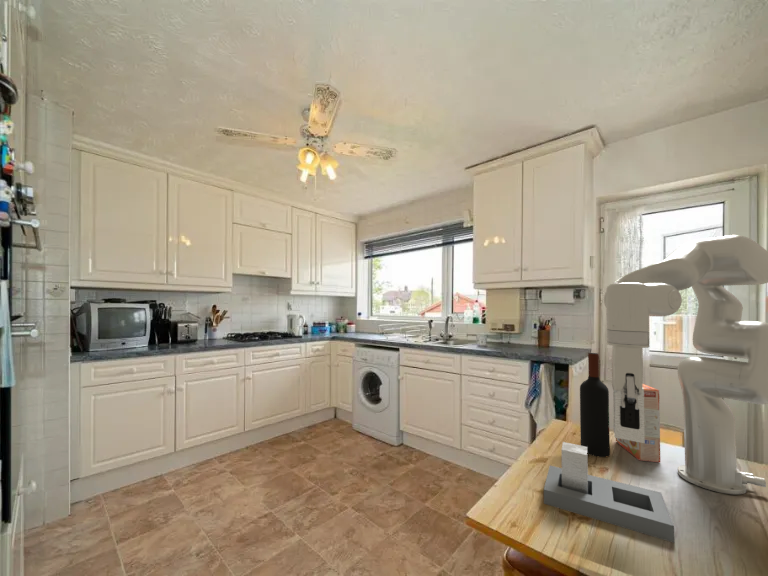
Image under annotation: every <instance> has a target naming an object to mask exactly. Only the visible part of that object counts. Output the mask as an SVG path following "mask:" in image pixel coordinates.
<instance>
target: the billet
mask: <svg viewBox="0 0 768 576" xmlns="http://www.w3.org/2000/svg"><path fill="white" fill-rule="evenodd" d="M588 455H589V454H587V447H585V446H581V444H576V443H575V444H574V443H570V442H565V441H562V446H561V468H562V487H563V488H566V489H570V490H574V491H577V492H581V493H585V494H588V475H589V471H588V469H589V464H588V463H589V462H588V460H589V459H588V458H589V457H588Z"/></svg>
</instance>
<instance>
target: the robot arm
mask: <svg viewBox="0 0 768 576" xmlns="http://www.w3.org/2000/svg"><path fill="white" fill-rule="evenodd" d="M764 284H768V250H767V249H766V248H764V247H763V246H762V245H760V244H759V242H757V241H755V240H753V239H751V238H750V237H747V236H744V235H741V234H732V235H731V234H730V235H724V236H723V235H722V236H717V237H708V238H707V237H706V238H700V239H699V238H698V239H693V240H690V241H687V242H685V243H682V244H681V245H680V246H678V248H676V249H675V250H673V252H671V253H670V254H669V255H668V256H666V257H665V258H664V259H663V260H662V261H659V262H656V263H652V264H649V265H647V266H644V267H642V268H639V269H636V270H633V271H631V272H629V273H627V274H624V275H622V276H620V277H619V278H618V279H617V280H614V282H612V283H610V284H608V286H607V287H606V289H605V290H606V291H605V292H604V296H603V303H604V306H605V308H606V345H609V346H612V351H611V386H612V390H614V391H615V392H616V393H617V391H621V399H622V407H620V424H621V426H622V427H627V428H632V429H640V416H639V409H638V395H641V394H642V388H643V384H644V383H643V382H644V380H643V379H644V358H643V357H644V355H643V353H644V352H643V351H644V350H643V349H646V348H650V317H667V316H668V317H669V316H672V315H673V314H675V313H676V312H677V311H679V310H680V308H681V306H682V301H683V300H682V295H681V293H680V291H683V290H687V289H690V288H692V290H693V292H694V294H695V296H696V300H697V303H698V306H697V313H696V318H695V323H694V327H693V332H692V345H693V347H694V349H695V350H696V351H698V352H701V353H703V354H707V355H711V356H712V355H713V356H721V357H727V358H728V357H729V358H737V359H743V360H744V359H746V360H747V361H746V362H745V361H740V360H731V359H725V358H717V357H707V356H690V357H685V358H684V359H682V360H681V361H680V362H679V363H678V366H677V377H678V381H679V384H680V389H681V394H682V403H683V404H682V405H683V406H682V407H683V432H684V433H683V435H684V436H683V438H684V464H681V465H679V466H678V467H677V474H678V475H679V476H680V477H681V478H682V479H684V480H685V481H687V482H688V483H690V484H693V485H696V486H698V487H700V488H703V489H706V490H709V491H713V492H716V493H722V494H727V495H736V496H737V495H743V494H746V493H747V485H748V484H749V485H754V486H757V487H758V486H759V487H762V488H766V487H767V481H766V479H765V478H764V477H760V476H754V474H753V473H751V472H744V471H741V470H740V469H739V468H738V467H737V443H736V441H737V440H736V418H735V415H734V413H733V410H732V409H731V407H730V406H729V404H727V403H726V401H725V400H724V399H728V400H735V401H738V402H743V403H750V404H756V405H767V404H768V322H765V321H759V320H757V321H755V320H754V321H753V320H742V315H743V309H744V308H743V304H742V303H741V301H740V300H739V298H737V297H736V296H735V295H734V294H732V293H731V292H730V291H729V290H727V289H726V288H725V287H724V286H726V287H727V286H728V287H729V286H731V287H732V286H749V285H750V286H754V285H755V286H756V285H758V286H759V285H764ZM638 389H639V391H638ZM624 390H627V393H625V392H624ZM638 393H639V394H638ZM625 396H627V397H625Z"/></svg>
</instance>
